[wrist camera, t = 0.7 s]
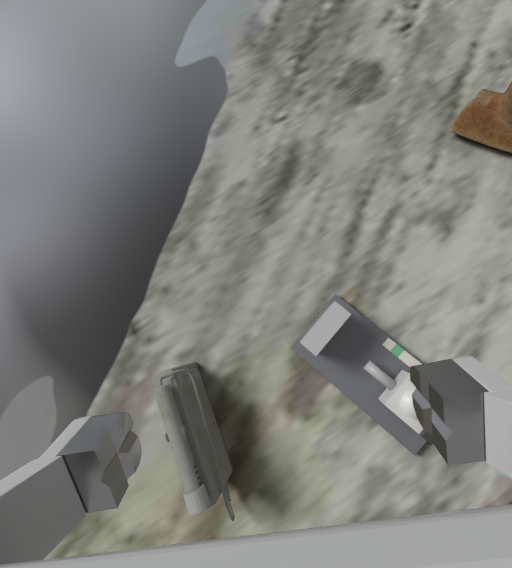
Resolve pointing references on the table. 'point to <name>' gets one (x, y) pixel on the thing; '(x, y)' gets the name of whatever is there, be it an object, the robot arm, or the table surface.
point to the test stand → (358, 363)
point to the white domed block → (399, 397)
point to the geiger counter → (194, 437)
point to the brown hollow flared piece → (487, 119)
